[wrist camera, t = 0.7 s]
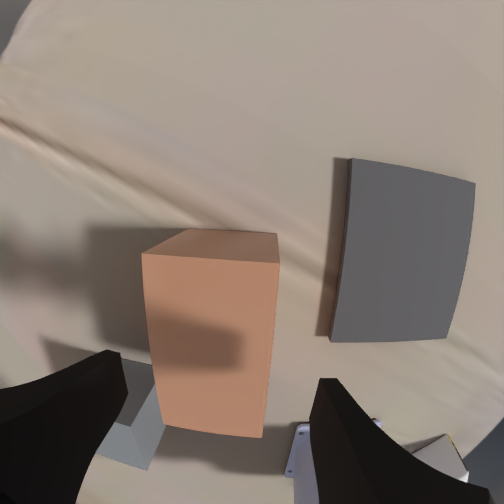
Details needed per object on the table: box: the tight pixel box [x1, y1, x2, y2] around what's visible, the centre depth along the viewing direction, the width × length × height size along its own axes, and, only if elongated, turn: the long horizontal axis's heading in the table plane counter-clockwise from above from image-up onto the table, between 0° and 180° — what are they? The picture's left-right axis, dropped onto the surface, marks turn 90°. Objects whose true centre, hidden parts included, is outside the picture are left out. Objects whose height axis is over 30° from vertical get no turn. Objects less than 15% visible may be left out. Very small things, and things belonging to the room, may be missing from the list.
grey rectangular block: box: [96, 359, 167, 470], centre depth 18 cm, size 6×6×7 cm
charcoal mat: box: [328, 158, 476, 342], centre depth 17 cm, size 12×10×1 cm
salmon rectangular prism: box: [141, 228, 280, 438], centre depth 15 cm, size 10×6×7 cm, turn 177°
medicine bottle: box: [412, 434, 469, 482], centre depth 16 cm, size 7×7×12 cm
